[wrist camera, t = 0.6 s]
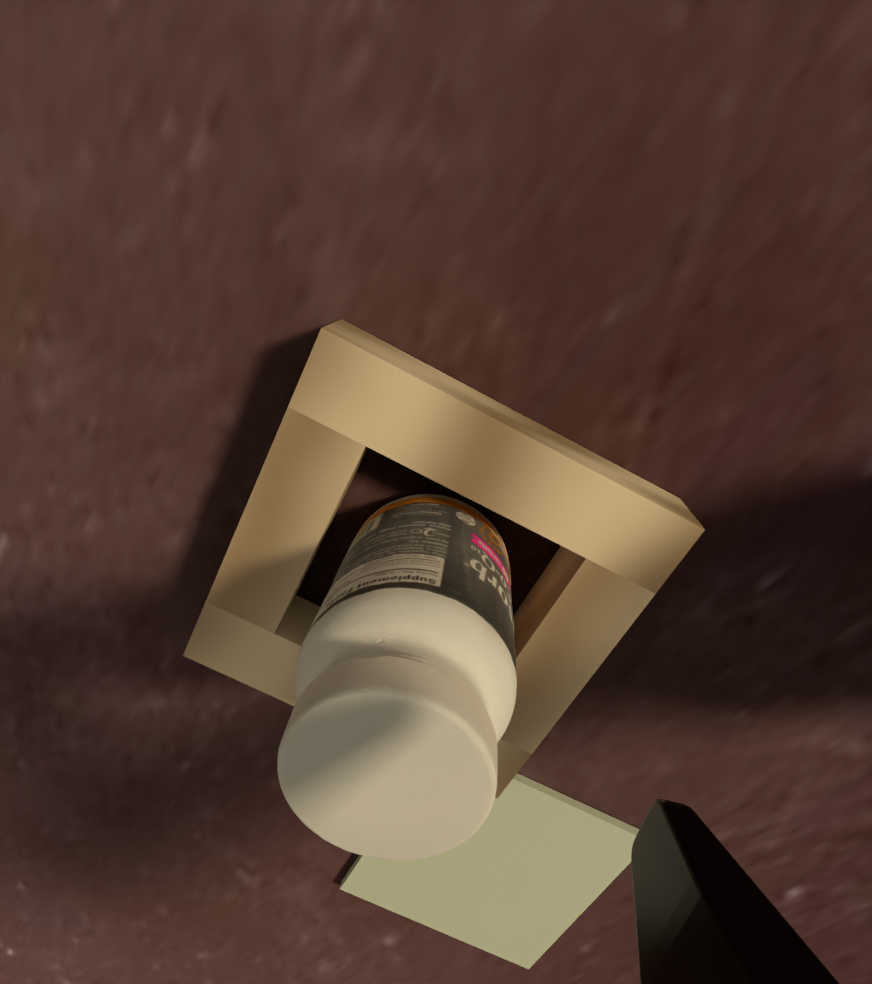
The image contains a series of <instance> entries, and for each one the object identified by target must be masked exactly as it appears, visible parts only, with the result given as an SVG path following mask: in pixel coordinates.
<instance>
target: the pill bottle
mask: <svg viewBox="0 0 872 984" xmlns="http://www.w3.org/2000/svg"><path fill="white" fill-rule="evenodd" d="M516 690H517V673H516V657H515V646H514V623H513V610H512V595H511V575H510V566H509V560H508V555H507V551H506V547H505V544H504V542H503V540H502V538H501V536H500V534H499V532H498V531H497V529H496V528H495V527H494V525H493V524H492V523H491V522H490V521H489V520H488V519H487V518H486V517H485V516H484V515H483V514H482V513H481V512H479V511H478V510H477V509H475V508H473V507H472V506H470V505H468V504H467V503H465V502H462V501H460V500H458V499H455V498H451V497H447V496H444V495H436V494H417V495H410V496H406V497H403V498H400V499H397V500H395V501H392V502H390V503H388V504H386V505H384V506H383V507H381V508H380V509H378V510H377V511H376V512H375V513H373V514H372V515H371V516H370V517H369V518H368V519H367V520H366V522H365V523H364V524H363V525H362V527H361V528H360V530H359V532H358V533H357V535H356V537H355V538H354V540H353V542H352V543H351V545H350V547H349V550H348V552H347V554H346V556H345V557H344V560H343V562H342V563H341V566H340V568H339V569H338V572H337V574H336V576H335V578H334V581H333V583H332V585H331V587H330V589H329V591H328V593H327V595H326V598H325V599H324V601H323V603H322V605H321V608H320V609H319V611H318V613H317V615H316V617H315V619H314V621H313V623H312V625H311V627H310V629H309V631H308V633H307V635H306V637H305V639H304V641H303V644H302V646H301V649H300V652H299V656H298V659H297V665H296V674H295V691H296V698H297V702H296V704H295V706H294V708H293V711H292V714H291V716H290V719H289V721H288V724H287V726H286V729H285V731H284V734H283V737H282V740H281V743H280V746H279V750H278V759H277V771H278V778H279V783H280V786H281V789H282V792H283V794H284V796H285V799H286V800H287V802H288V804H289V806H290V807H291V809H292V810H293V812H294V813H295V814H296V815H297V816H298V818H299V819H300V820H301V821H302V822H303V823H304V824H305V825H306V826H307V827H308V828H309V829H311V830H312V831H313V832H315V833H316V834H317V835H319V836H320V837H321V838H323V839H324V840H326V841H328V842H329V843H331V844H333V845H336V846H337V847H339V848H341V849H344V850H346V851H349V852H352V853H355V854H358V855H362V856H366V857H369V858H375V859H382V860H393V861H408V860H417V859H423V858H428V857H432V856H435V855H439V854H442V853H445V852H447V851H449V850H451V849H453V848H455V847H457V846H458V845H460V844H462V843H463V842H465V841H466V840H468V839H469V838H470V837H471V836H473V835H474V834H475V833H476V832H477V831H478V829H479V828H480V827H481V826H482V824H483V823H484V822H485V820H486V818H487V817H488V815H489V813H490V811H491V809H492V806H493V803H494V800H495V795H496V790H497V774H498V756H497V743H498V741H499V740H500V739H501V737H502V736H503V734H504V733H505V731H506V729H507V727H508V724H509V722H510V720H511V717H512V714H513V710H514V706H515V701H516Z"/></svg>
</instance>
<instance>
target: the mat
mask: <svg viewBox="0 0 872 984" xmlns="http://www.w3.org/2000/svg"><path fill="white" fill-rule="evenodd" d="M638 831H639V829H637V828H635V827H633V826H631V825H629V824H626V823H624V822H622V821H620V820H618V819H616V818H613V817H611V816H609V815H607V814H605V813H603V812H600V811H598V810H596V809H594V808H592V807H590V806H587V805H585V804H583V803H581V802H579V801H576V800H574V799H572V798H570V797H568V796H566V795H563V794H561V793H559V792H557V791H555V790H553V789H550V788H548V787H546V786H544V785H542V784H540V783H537V782H535V781H533V780H531V779H529V778H527V777H524V776H522V775H520V774H518V773H517V774H516V775H515V777H514V778H513V779H512V780H511V782H510V783H509V784H508V786H507V787H506V788H505V790H504V791H503V792H502V793H501V795H500V796H499V797H498V799H497V798H495V800H494V803H493V806H492V809H491V811H490V813H489V815H488V817H487V818H486V820H485V822H484V823H483V824H482V826H481V827H480V828H479V829H478V831H477V832H476V833H475V834H474V835H473V836H471V837H470V838H469V839H468V840H466V841H465V842H463V843H462V844H460V845H458V846H457V847H455V848H453V849H451V850H449V851H447V852H445V853H442V854H439V855H435V856H432V857H428V858H423V859H417V860H408V861H393V860H382V859H375V858H369V857H366V856H362V855H359V856H358V858H357V859H356V860H355V862H354V863H353V865H352V866H351V868H350V869H349V871H348V872H347V874H346V875H345V877H344V878H343V880H342V882H341V886H340V889H341V890H343V891H345V892H348V893H350V894H353V895H355V896H357V897H360V898H362V899H364V900H367V901H369V902H371V903H374V904H376V905H378V906H381V907H383V908H386V909H388V910H390V911H393V912H395V913H397V914H400V915H402V916H404V917H407V918H409V919H411V920H414V921H416V922H419V923H421V924H423V925H426V926H428V927H430V928H433V929H435V930H437V931H440V932H442V933H444V934H447V935H449V936H452V937H454V938H456V939H459V940H461V941H463V942H466V943H468V944H470V945H473V946H475V947H477V948H480V949H482V950H485V951H487V952H489V953H492V954H494V955H496V956H499V957H501V958H503V959H506V960H508V961H510V962H513V963H515V964H518V965H520V966H522V967H525V968H527V969H529V968H530V967H531V966H532V965H533V964H534V963H535V962H536V961H537V960H538V959H539V958H540V957H541V956H542V955H543V954H544V953H545V951H546V950H547V949H548V948H549V947H550V946H551V945H552V944H553V943H554V942H555V941H556V940H557V939H558V938H559V937H560V936H561V935H562V934H563V933H564V932H565V930H566V929H567V928H568V927H569V926H570V925H571V924H572V923H573V922H574V921H575V920H576V919H577V918H578V917H579V916H580V915H581V914H582V913H583V912H584V911H585V909H586V908H587V907H588V906H589V905H590V904H591V903H592V902H593V901H594V900H595V899H596V898H597V897H598V896H599V895H600V894H601V893H602V892H603V891H604V890H605V888H606V887H607V886H608V885H609V884H610V883H611V882H612V881H613V880H614V879H615V878H616V877H617V876H618V875H619V874H620V873H621V872H622V871H623V870H624V869H625V867H626V866H627V865H628V864H629V863H630V862H631V852H632V846H633V842H634V839H635V837H636V835H637V833H638Z"/></svg>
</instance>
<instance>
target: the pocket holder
mask: <svg viewBox="0 0 872 984" xmlns="http://www.w3.org/2000/svg"><path fill="white" fill-rule="evenodd" d="M368 448H370V449H372V450H374V451H376V452H378V453H380V454H382V455H384V456H386V457H388V458H390V459H392V460H394V461H396V462H398V463H400V464H402V465H404V466H406V467H407V468H409V469H411V470H413V471H415V472H417V473H419V474H421V475H423V476H425V477H427V478H429V479H431V480H433V481H435V482H437V483H439V484H441V485H443V486H445V487H447V488H449V489H451V490H453V491H455V492H457V493H459V494H461V495H463V496H465V497H466V498H468V499H470V500H472V501H474V502H476V503H478V504H480V505H482V506H484V507H486V508H488V509H490V510H492V511H494V512H496V513H498V514H500V515H502V516H504V517H506V518H508V519H510V520H512V521H514V522H516V523H518V524H520V525H522V526H523V527H525V528H527V529H529V530H531V531H533V532H535V533H537V534H539V535H541V536H543V537H545V538H547V539H549V540H551V541H553V542H555V543H557V544H559V545H561V546H560V548H559V549H558V551H557V552H556V554H555V555H554V557H553V558H552V560H551V561H550V563H549V564H548V566H547V567H546V569H545V570H544V571H543V573H542V574H541V576H540V577H539V579H538V580H537V582H536V583H535V585H534V586H533V588H532V589H531V591H530V592H529V594H528V595H527V597H526V598H525V600H524V601H523V603H522V604H521V606H520V607H519V609H518V610H517V612H516V613H515V615H514V616H513V623H514V646H515V657H516V673H517V690H516V701H515V706H514V710H513V714H512V717H511V720H510V722H509V724H508V727H507V729H506V731H505V733H504V734H503V736H502V737H501V739H500V740H499V741H498V743H497V756H498V774H497V790H496V795H495V798H497V799H498V797H499V796H500V795H501V793H502V792H503V791H504V790H505V788H506V787H507V786H508V784H509V783H510V782H511V780H512V779H513V778H514V777H515V775H516V774H517V773H518V771H519V770H520V769H521V768H522V766H523V765H524V764H525V762H526V761H527V760H528V758H529V757H530V756H531V755H532V753H533V752H534V751H535V749H536V748H537V747H538V746H539V744H540V743H541V742H542V740H543V739H544V738H545V736H546V735H547V734H548V733H549V731H550V730H551V729H552V727H553V726H554V725H555V723H556V722H557V721H558V720H559V718H560V717H561V716H562V714H563V713H564V712H565V711H566V709H567V708H568V707H569V705H570V704H571V703H572V701H573V700H574V699H575V698H576V696H577V695H578V694H579V692H580V691H581V690H582V689H583V687H584V686H585V685H586V683H587V682H588V681H589V679H590V678H591V677H592V676H593V674H594V673H595V672H596V670H597V669H598V668H599V667H600V665H601V664H602V663H603V661H604V660H605V659H606V657H607V656H608V655H609V654H610V652H611V651H612V650H613V648H614V647H615V646H616V644H617V643H618V642H619V641H620V639H621V638H622V637H623V635H624V634H625V633H626V632H627V630H628V629H629V628H630V626H631V625H632V624H633V622H634V621H635V620H636V619H637V617H638V616H639V615H640V613H641V612H642V611H643V610H644V608H645V607H646V606H647V604H648V603H649V602H650V600H651V599H652V598H653V597H654V595H655V594H656V593H657V591H658V590H659V589H660V587H661V586H662V585H663V584H664V582H665V581H666V580H667V578H668V577H669V576H670V575H671V573H672V572H673V571H674V569H675V568H676V567H677V565H678V564H679V563H680V562H681V560H682V559H683V558H684V556H685V555H686V554H687V553H688V551H689V550H690V549H691V547H692V546H693V545H694V543H695V542H696V541H697V540H698V538H699V537H700V536H701V534H702V533H703V532H704V530H705V529H704V528H703V526H702V525H701V524H700V523H699V521H698V520H697V519H696V518H695V517H694V515H693V514H692V513H691V512H690V510H689V509H688V508H687V507H686V505H685V504H684V503H683V502H682V500H681V499H680V498H678V497H676V496H674V495H673V494H671V493H669V492H667V491H665V490H663V489H661V488H659V487H657V486H656V485H654V484H652V483H650V482H648V481H646V480H644V479H642V478H640V477H639V476H637V475H635V474H633V473H631V472H629V471H627V470H625V469H624V468H622V467H620V466H618V465H616V464H614V463H612V462H610V461H608V460H607V459H605V458H603V457H601V456H599V455H597V454H595V453H593V452H591V451H590V450H588V449H586V448H584V447H582V446H580V445H578V444H576V443H574V442H573V441H571V440H569V439H567V438H565V437H563V436H561V435H559V434H557V433H556V432H554V431H552V430H550V429H548V428H546V427H544V426H542V425H540V424H539V423H537V422H535V421H533V420H531V419H529V418H527V417H525V416H523V415H522V414H520V413H518V412H516V411H514V410H512V409H510V408H508V407H506V406H505V405H503V404H501V403H499V402H497V401H495V400H493V399H491V398H490V397H488V396H486V395H484V394H482V393H480V392H478V391H476V390H474V389H473V388H471V387H469V386H467V385H465V384H463V383H461V382H459V381H457V380H456V379H454V378H452V377H450V376H448V375H446V374H444V373H442V372H440V371H439V370H437V369H435V368H433V367H431V366H429V365H427V364H425V363H423V362H422V361H420V360H418V359H416V358H414V357H412V356H410V355H408V354H406V353H405V352H403V351H401V350H399V349H397V348H395V347H393V346H391V345H389V344H388V343H386V342H384V341H382V340H380V339H378V338H376V337H374V336H372V335H371V334H369V333H367V332H365V331H363V330H361V329H359V328H357V327H356V326H354V325H352V324H350V323H348V322H346V321H344V320H342V319H341V320H339V321H336V322H334V323H331V324H329V325H327V326H324V327H322V328H321V330H320V332H319V334H318V337H317V339H316V342H315V344H314V346H313V349H312V351H311V353H310V356H309V358H308V361H307V363H306V365H305V368H304V370H303V372H302V375H301V377H300V379H299V382H298V384H297V387H296V389H295V391H294V394H293V396H292V398H291V401H290V403H289V405H288V408H287V410H286V413H285V415H284V417H283V420H282V422H281V424H280V427H279V429H278V432H277V434H276V436H275V439H274V441H273V443H272V446H271V448H270V450H269V453H268V455H267V458H266V460H265V462H264V465H263V467H262V469H261V472H260V474H259V477H258V479H257V481H256V484H255V486H254V488H253V491H252V493H251V495H250V498H249V500H248V503H247V505H246V507H245V510H244V512H243V514H242V517H241V519H240V522H239V524H238V526H237V529H236V531H235V533H234V536H233V538H232V540H231V543H230V545H229V548H228V550H227V552H226V555H225V557H224V559H223V562H222V564H221V567H220V569H219V571H218V574H217V576H216V578H215V581H214V583H213V585H212V588H211V590H210V593H209V595H208V597H207V600H206V602H205V604H204V607H203V609H202V611H201V614H200V616H199V619H198V621H197V623H196V626H195V628H194V630H193V633H192V635H191V638H190V640H189V642H188V645H187V647H186V649H185V652H184V654H183V656H185V657H187V658H189V659H191V660H193V661H196V662H198V663H200V664H202V665H204V666H207V667H209V668H211V669H213V670H215V671H218V672H220V673H222V674H224V675H226V676H229V677H231V678H233V679H235V680H237V681H240V682H242V683H244V684H246V685H248V686H251V687H253V688H255V689H257V690H259V691H262V692H264V693H266V694H268V695H270V696H273V697H275V698H277V699H279V700H281V701H284V702H286V703H288V704H290V705H293V706H295V704H296V702H297V698H296V691H295V674H296V665H297V659H298V656H299V652H300V649H301V646H302V644H303V641H304V639H305V637H306V635H307V633H308V631H309V629H310V627H311V625H312V623H313V621H314V619H315V617H316V615H317V613H318V611H319V609H320V608H321V607H320V606H318V605H316V604H314V603H311V602H309V601H307V600H305V599H303V598H301V597H299V596H297V595H296V594H297V592H298V590H299V588H300V586H301V584H302V582H303V580H304V578H305V576H306V574H307V572H308V570H309V568H310V566H311V564H312V561H313V559H314V557H315V555H316V553H317V551H318V549H319V547H320V545H321V543H322V541H323V539H324V537H325V535H326V533H327V531H328V529H329V527H330V525H331V523H332V521H333V519H334V517H335V515H336V513H337V511H338V509H339V506H340V504H341V502H342V500H343V498H344V496H345V494H346V492H347V490H348V488H349V486H350V484H351V482H352V480H353V478H354V476H355V474H356V472H357V470H358V468H359V466H360V464H361V462H362V460H363V458H364V456H365V454H366V451H367V449H368Z"/></svg>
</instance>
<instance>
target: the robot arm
mask: <svg viewBox="0 0 872 984" xmlns="http://www.w3.org/2000/svg"><path fill="white" fill-rule="evenodd" d="M631 864H632V877H633V890H634V904H635V917H636V930H637V943H638V956H639V969H640V980H641V984H839V983H838V982H837V980H836V979H835V978H834V977H833V976H832V974H831V973H830V972H829V971H828V970H827V969H826V967H825V966H824V965H823V964H822V963H821V961H820V960H819V959H818V958H817V957H816V955H815V954H814V953H813V952H812V951H811V950H810V948H809V947H808V946H807V945H806V944H805V942H804V941H803V940H802V939H801V938H800V936H799V935H798V934H797V933H796V932H795V931H794V929H793V928H792V927H791V926H790V925H789V923H788V922H787V921H786V920H785V919H784V917H783V916H782V915H781V914H780V913H779V912H778V910H777V909H776V908H775V907H774V906H773V904H772V903H771V902H770V901H769V900H768V898H767V897H766V896H765V895H764V894H763V893H762V891H761V890H760V889H759V888H758V887H757V885H756V884H755V883H754V882H753V881H752V879H751V878H750V877H749V876H748V875H747V874H746V872H745V871H744V870H743V869H742V868H741V866H740V865H739V864H738V863H737V862H736V860H735V859H734V858H733V857H732V856H731V855H730V853H729V852H728V851H727V850H726V849H725V847H724V846H723V845H722V844H721V843H720V841H719V840H718V839H717V838H716V837H715V836H714V834H713V833H712V832H711V831H710V830H709V828H708V827H707V826H706V825H705V824H704V822H703V821H702V820H701V819H700V818H699V817H698V815H697V814H696V813H695V812H694V811H693V810H692V809H691V808H690V807H688V806H686V805H684V804H680V803H676V802H672V801H668V800H664V799H658V800H656V801H655V802H654V803H653V804H652V806H651V807H650V809H649V811H648V813H647V815H646V817H645V819H644V821H643V823H642V825H641V827H640V829H639V831H638V833H637V835H636V837H635V839H634V842H633V846H632V852H631Z"/></svg>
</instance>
